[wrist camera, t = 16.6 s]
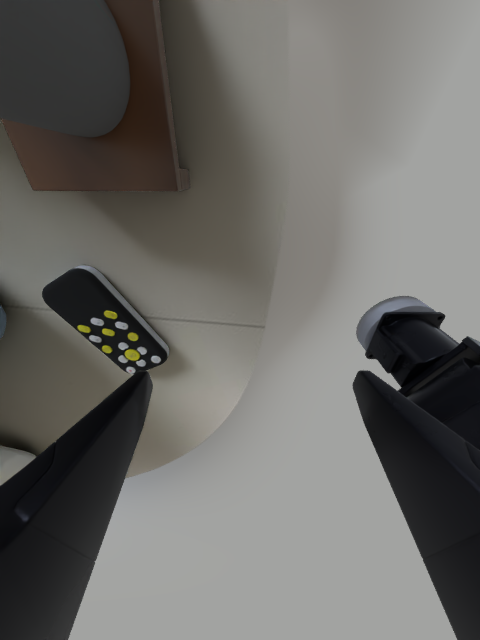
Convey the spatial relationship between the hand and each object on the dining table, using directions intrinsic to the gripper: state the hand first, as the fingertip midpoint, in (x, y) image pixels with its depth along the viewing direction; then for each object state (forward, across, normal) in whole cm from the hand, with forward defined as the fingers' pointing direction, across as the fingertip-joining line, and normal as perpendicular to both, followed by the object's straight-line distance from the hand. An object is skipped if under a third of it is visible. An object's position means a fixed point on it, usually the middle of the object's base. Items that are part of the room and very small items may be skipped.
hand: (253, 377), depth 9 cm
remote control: (+13, +14, +6) cm, 20 cm away
